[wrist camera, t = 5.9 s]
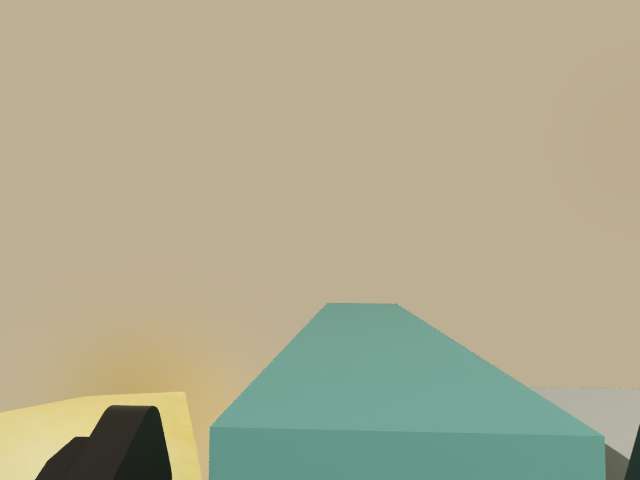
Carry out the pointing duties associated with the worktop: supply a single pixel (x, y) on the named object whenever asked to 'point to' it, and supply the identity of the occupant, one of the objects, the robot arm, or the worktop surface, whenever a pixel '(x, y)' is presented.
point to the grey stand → (603, 419)
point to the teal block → (394, 411)
